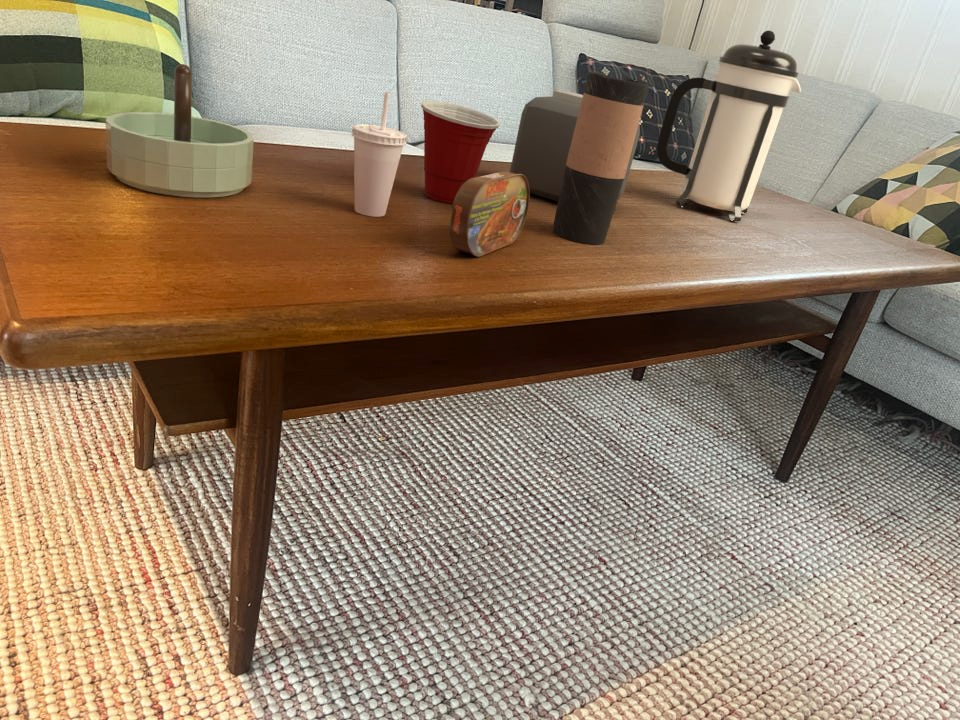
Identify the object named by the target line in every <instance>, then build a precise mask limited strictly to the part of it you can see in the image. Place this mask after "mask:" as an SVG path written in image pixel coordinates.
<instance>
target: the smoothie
mask: <svg viewBox="0 0 960 720" xmlns="http://www.w3.org/2000/svg"><path fill="white" fill-rule="evenodd" d="M390 96H391V92H389V91H384V97H383V105H382V111H381V112H382V113H381V121H380V125H374V124H363V123H359V124H358V123H357V124H354V125H352V131H351V133H350V134H351V136H352V137H353V163H354V164H353V166H354V167H353V170H354V171H353V174H354V175H353V178H354V179H353V180H354V182H353V183H354V184H353V185H354V190H353V191H354V212H356V213H357V214H359V215H362V216H366V217H373V218H374V217H375V218H377V217H378V218H381V217H384V216H386V213H387V210H388V205H389V202H390V197H391V194H392V190H393V186H394V182H395V178H396V176H397V171H398V168H399V164H400V160H401V157H402V152H403V149H404V146H406V145H407V140H408V135H407V133H405V132H403V131H401V130H398V129H394V128H391V127H386V126H387V118H388V111H389V103H390Z"/></svg>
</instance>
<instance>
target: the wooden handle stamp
mask: <svg viewBox="0 0 960 720" xmlns="http://www.w3.org/2000/svg"><path fill="white" fill-rule="evenodd" d="M173 78H174V82H173V83H174V84H173V85H174V86H173V89H174V90H173V94H174V95H173V108H174V109H173V114H174V140H177V141H185V142H191V116H192V108H193V107H192V103H193V101H192V100H193V99H192V98H193V71H192V69H191V67H190V66H188V65H187V64H185V63H180V64H178V65H176V66H175V68H174V77H173Z"/></svg>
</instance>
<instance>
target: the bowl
mask: <svg viewBox="0 0 960 720" xmlns="http://www.w3.org/2000/svg"><path fill="white" fill-rule="evenodd" d="M254 141H255V139H254V135H253V134H252V133H250V132H249V131H248V130H245V128H242V127H239V126H236V125H233V124H230V123H226V122H222V121H219V120H214V119H210V118H209V119H208V118H204V117H198V116H193V115H191V142H185V141H177V140H174V113H167V112H154V111H130V112H129V111H128V112H117V113H114V114H111V115H108V116H107V117H106V119H105V142H106V143H105V146H106V147H105V148H106V149H105V151H106V152H105V153H106V168H107V169H108V171H109V172H110V173H111V174H112V175H114V176H115V178H116V179H117V180H118V181H120V182H121V183H123V184H125V185H127V186H129V187H132V188H135V189H138V190H141V191H144V192H145V191H146V192H150V193H154V194H160V195H164V196H165V195H166V196H173V197H181V198H182V197H183V198H202V199H203V198H206V199H207V198H208V199H209V198H221V197H228V196H233V195H236V194H239V193H242V192H243V191H244V190H245V188H247V187H248V186H250V185H251V184H252V179H253V160H254V159H253V158H254V143H255V142H254Z"/></svg>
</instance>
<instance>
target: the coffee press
mask: <svg viewBox="0 0 960 720" xmlns="http://www.w3.org/2000/svg"><path fill="white" fill-rule="evenodd" d="M775 40H776V35H775V33H774V31H772V30H764V32H762V33H761V35H760V44H758V46H757V45H751V44H744V43H743V44H734V45H732V46H730V47H728V48H727V49H726V50H725V51H724V53H723V55H722V56H719V59H718V64H719V67H718V70H717V74H716V77H715V80H711V79H706V78H705V77H691V78H688V79H686V80H684V81H683V82H681V83H680V84H679V85H678V86H677V87H676V88H675V90H674V91H673V93H672V95H671V98H670V100H669V102H668V105H667V109H666V112H665V115H664V119H663V122H662V126H661V129H660V132H659V135H658V140H657V147H656V153H657V158H658V160H659V162H660V164H661V165H662V166H663V167H665V168H666V169H667V170H669V171H671V172H674V173H677V174H680V175H683V176H684V177H685V178H684V181H683V184H682V194H681V195H680V196H679V197H678V198H677V199H676V201H675V205H676V206H677V205H678V206H677V207H679V206H680V207H679V208H681V206H683V207H685V208H687V207H688V206H689V205H691V204H698V205H703V206H706V207H709V208H713V209H718V210H721V211H724V212H726V213H727V216H728V220H729V219H734V220H733V221H740V222H741V221H742V215H741V211H742V212H744V213H746V214H747V212H748V207H749V206H750V204H751V201H752V198H753V196H754V193H755V191H756V187H757V186H758V185H757V184H758V182H759V180H760V177H761V173H762V171H763V168H764V165H765V163H766V160H767V157H768V154H769V151H770V148H771V145H772V143H773V139H774V136H775V134H776V131H777V128H778V125H779V122H780V121H781V120H780V119H781V117H782V113H783V111H784V109H785V108H786V107H787V104H788V101H789V98H790V96H789V94H790V93H791V92H793V93H794V92H795V93H799V94H800V93H802V86H801V84H800V82H799V80H798V79H797V78H798V75H799V72H797V69H798V64H797V61H796V59H795V58H794V57H793V56H792V55H791V54H789V53H786V52H784V51H781V50H776V49H772V48H771V46H770V45H771V44H773V43H774V41H775ZM694 89H700V90H701V89H704V90H708V91H709V90H710V92H711V93H710V96H709V100H708V102H707V106H706V110H705V113H704V116H703V119H702V123H701V126H700V130H699V133H698V136H697V139H696V142H695V145H694V149H693V152H692V155H691V158H690V162H689V164H685V163H681V162H678V161H675V160H673V159H672V158H671V157H670V155H669V152H668V151H669V150H668V147H669V142H670V138H671V136H672V132H673V128H674V125H675V121H676V118H677V115H678V111H679V108H680V105H681V103H682V100H683V98H684V96H685V95H686V94H687V93H688V92H689V91H690V90H694ZM686 198H688V199H689V200H687V199H686ZM685 199H686V201H684V200H685Z"/></svg>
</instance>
